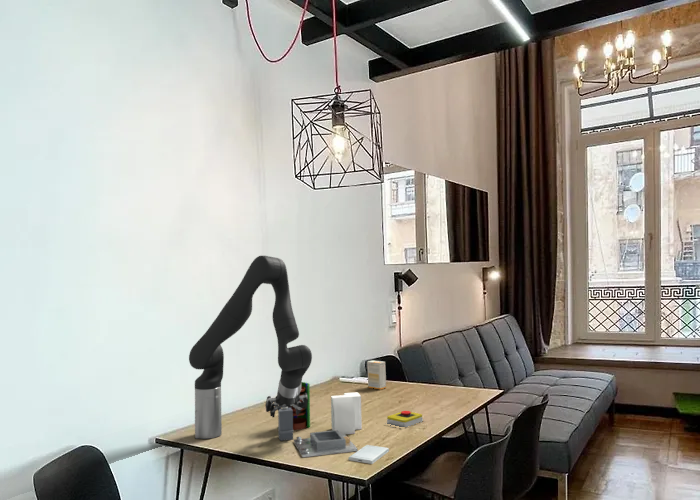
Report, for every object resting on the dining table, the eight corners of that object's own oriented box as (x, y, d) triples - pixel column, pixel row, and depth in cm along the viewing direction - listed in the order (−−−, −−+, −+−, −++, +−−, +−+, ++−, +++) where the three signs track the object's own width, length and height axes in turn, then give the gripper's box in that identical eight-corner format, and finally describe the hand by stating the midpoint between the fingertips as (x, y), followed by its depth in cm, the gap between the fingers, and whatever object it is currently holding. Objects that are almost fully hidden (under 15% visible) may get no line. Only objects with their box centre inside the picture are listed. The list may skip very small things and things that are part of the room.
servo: (280, 441, 184) (280, 409, 185) (278, 436, 190) (277, 405, 191) (293, 440, 186) (293, 408, 186) (290, 435, 191) (290, 404, 192)
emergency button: (425, 410, 206) (401, 418, 195) (426, 422, 206) (401, 431, 195) (406, 406, 213) (382, 414, 202) (406, 417, 212) (382, 426, 202)
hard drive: (366, 444, 176) (348, 456, 165) (388, 447, 172) (372, 460, 161) (366, 449, 176) (348, 461, 165) (389, 453, 172) (372, 465, 161)
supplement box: (386, 388, 263) (385, 361, 264) (380, 390, 260) (379, 362, 260) (373, 386, 269) (373, 359, 269) (367, 387, 265) (366, 361, 266)
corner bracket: (358, 424, 203) (357, 392, 204) (364, 433, 192) (363, 399, 193) (330, 426, 202) (329, 393, 202) (334, 435, 190) (334, 401, 191)
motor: (284, 431, 196) (283, 376, 197) (281, 424, 205) (280, 371, 206) (311, 428, 199) (310, 374, 200) (307, 422, 208) (306, 369, 208)
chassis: (302, 457, 168) (302, 446, 168) (293, 442, 184) (293, 432, 184) (357, 451, 173) (357, 440, 173) (344, 436, 188) (344, 427, 189)
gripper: (308, 376, 183) (303, 402, 194) (267, 379, 179) (263, 406, 190) (312, 395, 178) (306, 421, 188) (269, 399, 174) (265, 425, 185)
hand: (285, 413), depth 189 cm, fingers open, 8 cm apart
